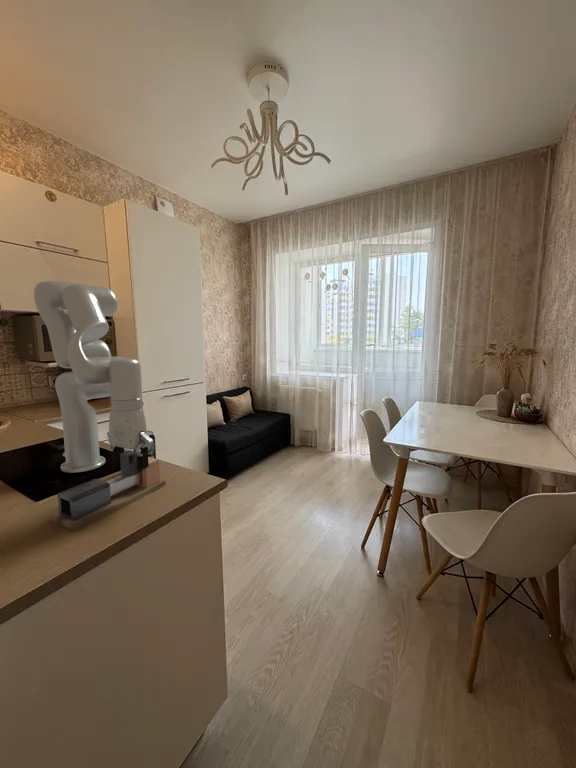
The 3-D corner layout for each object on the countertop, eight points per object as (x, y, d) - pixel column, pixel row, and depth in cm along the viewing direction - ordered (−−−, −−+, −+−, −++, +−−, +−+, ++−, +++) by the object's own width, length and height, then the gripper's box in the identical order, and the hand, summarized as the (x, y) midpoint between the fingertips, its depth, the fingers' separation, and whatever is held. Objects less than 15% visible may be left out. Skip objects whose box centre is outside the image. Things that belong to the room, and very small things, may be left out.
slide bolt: (87, 499, 80) (84, 465, 78) (141, 475, 94) (140, 446, 93) (96, 503, 78) (93, 468, 77) (150, 478, 92) (149, 448, 91)
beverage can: (141, 474, 100) (139, 437, 99) (130, 469, 104) (128, 433, 103) (160, 467, 106) (158, 432, 104) (149, 463, 109) (148, 429, 108)
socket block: (128, 482, 92) (126, 459, 91) (140, 476, 96) (139, 454, 95) (147, 488, 89) (146, 464, 88) (160, 481, 93) (158, 459, 92)
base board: (50, 519, 75) (49, 514, 75) (141, 478, 98) (141, 474, 98) (75, 531, 71) (75, 526, 71) (165, 485, 93) (165, 481, 93)
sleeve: (59, 515, 75) (57, 493, 74) (96, 498, 83) (95, 478, 82) (74, 521, 72) (72, 499, 72) (111, 503, 80) (109, 483, 80)
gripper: (93, 403, 86) (97, 464, 89) (137, 411, 79) (140, 477, 81) (118, 399, 93) (122, 455, 95) (161, 405, 85) (164, 466, 88)
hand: (130, 465), depth 88 cm, fingers open, 9 cm apart
